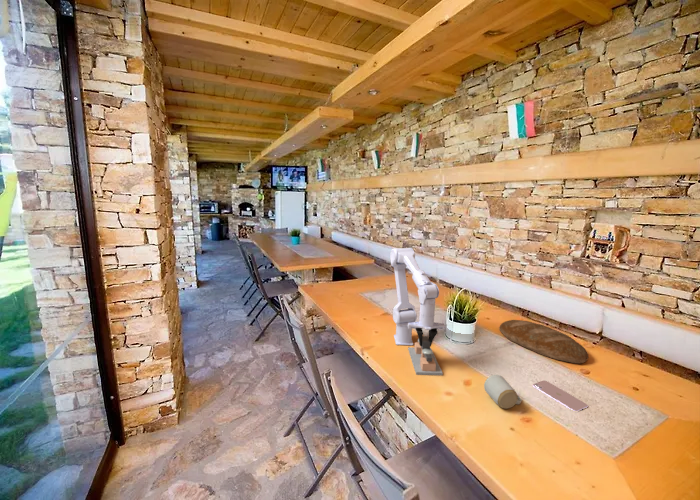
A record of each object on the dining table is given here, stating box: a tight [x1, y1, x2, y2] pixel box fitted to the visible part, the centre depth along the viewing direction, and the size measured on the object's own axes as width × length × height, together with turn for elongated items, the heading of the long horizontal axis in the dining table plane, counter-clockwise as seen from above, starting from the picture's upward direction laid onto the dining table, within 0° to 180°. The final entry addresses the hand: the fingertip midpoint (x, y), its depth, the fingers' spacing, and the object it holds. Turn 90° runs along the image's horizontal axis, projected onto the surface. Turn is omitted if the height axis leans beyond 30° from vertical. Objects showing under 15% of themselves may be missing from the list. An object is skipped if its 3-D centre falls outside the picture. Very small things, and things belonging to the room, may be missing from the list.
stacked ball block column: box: [417, 335, 434, 362], centre depth 121 cm, size 17×4×5 cm, turn 178°
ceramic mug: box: [483, 374, 523, 409], centre depth 98 cm, size 11×8×8 cm
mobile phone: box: [532, 380, 589, 412], centre depth 102 cm, size 8×1×15 cm
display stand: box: [407, 341, 444, 376], centre depth 121 cm, size 19×10×5 cm, turn 178°
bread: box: [498, 319, 589, 365], centre depth 137 cm, size 22×37×8 cm, turn 29°
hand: (425, 345), depth 120 cm, fingers closed on stacked ball block column, 3 cm apart
